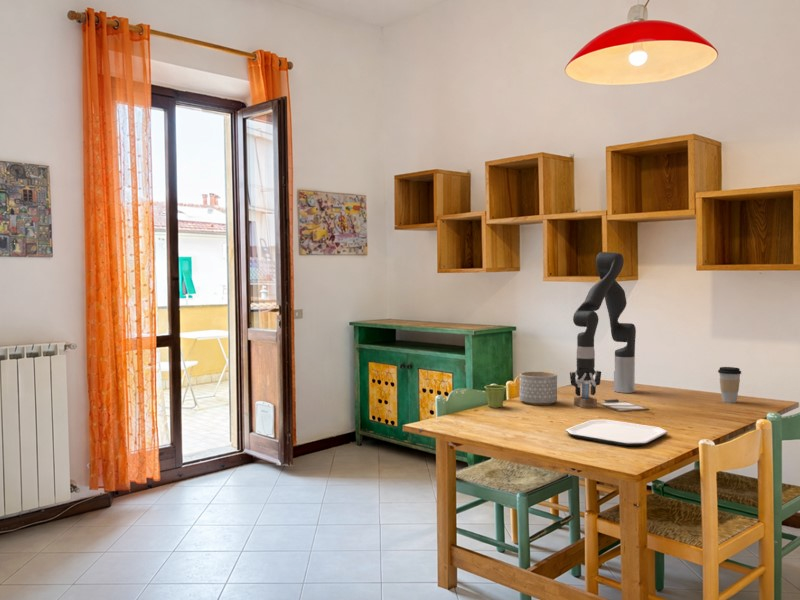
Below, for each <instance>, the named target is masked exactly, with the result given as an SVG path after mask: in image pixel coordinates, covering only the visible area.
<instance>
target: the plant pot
mask: <svg viewBox="0 0 800 600" xmlns="http://www.w3.org/2000/svg"><path fill="white" fill-rule="evenodd" d="M506 389H507V385H500V384H499V385H498V384H490V385H489V384H488V385H485V386H484V390H485V393H486V397H487V398H486V399H487V400H486V401H487V406H488V407H490V408H492V409H493V408H502V407H504V406H503V405H504V398H505V392H506Z"/></svg>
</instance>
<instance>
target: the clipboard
mask: <svg viewBox="0 0 800 600" xmlns="http://www.w3.org/2000/svg"><path fill="white" fill-rule="evenodd" d="M597 406H601V407H604V408H607V409H610V410H613V411H616V412H618V413H623V412H624V413H625V412H638V411H639V412H642V411H650V408H648V407H644V406H640V405H638V404H635V403H632V402H628V401H627V400H624V401H623V400H622V401H620V400H619V399H618V398H616V399H615V398H614V399H604V402H601V401H600V402H597Z"/></svg>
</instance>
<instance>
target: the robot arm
mask: <svg viewBox="0 0 800 600" xmlns="http://www.w3.org/2000/svg"><path fill="white" fill-rule="evenodd" d="M624 262H625V259H624V256H623V254H621V253H619V252H618V253H617V252H609V251H601V252H599V253H598V254H597V255H596V258H595V265H596V267H595V268H596V270H597V274H598V276H599V279H600V280H599V281H598V282H596V283H595V284H594V285H592V287H591V288H590V289H589V291H588V293H587V295H586V297H585V300H584V301H583V302H582V303H581V304H580V306H579V307H578V308H577V309H576V310H575V312H574V314H573V317H572V321H573V324H574V325H575V326H576V327H582V328H586V329H585V331H581V332H579V333H578V334H577V337H576V339H577V340H576V342H577V344H576V371H570V372H569V379H570V385H571V386H573V387H574V388H575V389H574V391H575V395H576V397H581V386H582V382H583V381H585V380H590V383H589V385H590V396H595V395H596V392H597V391H596V390H597V389H596V387H597V386H599V385H601V377H602V371H600V370H595V366H596V365H595V360H596V359H595V356H596V353H595V352H596V351H595V335H596V332H597V327H598V324H599V319H600V318H599V315H598V313H597V312H596V311H598V310H600V308H601V307H602V304H603V301H604V300H605V304H606V305H605V306H606V309H607V312H608V318H609V326H610V333H611V339H612V340H613V341H614V342H617V343H627V344H626V345H625V346H624V347H621V348H617V349H616V350H614V371H613V391H614V392H617V393H622V394H623V393H624V394H631V393H635V389H636V388H635V386H636V383H635V379H636V377H635V374H636V370H635V369H636V367H635V366H636V359H635V358H636V354H635V353H636V352H635V351H636V335H637V334H636V333H637V329H636V326H635V324H634V323H630V322H629V323H627V322H626V323H625V322H619V318H620V316H621V315H622V313H623V312H624V310H625V309H626V307H627V297H626V292H625V290H624V288H623V287H622V286H621V285H620V284H619V283H618V281H617V278H618V276H619V275H620V273H621V271H622V269H623V267H624ZM594 376H595V377H594ZM576 377H577V378H576Z"/></svg>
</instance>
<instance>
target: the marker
mask: <svg viewBox="0 0 800 600" xmlns="http://www.w3.org/2000/svg"><path fill="white" fill-rule="evenodd" d="M581 396H582V398H583V399H589V396H590V380H585V381H583V382H582V383H581Z"/></svg>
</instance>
